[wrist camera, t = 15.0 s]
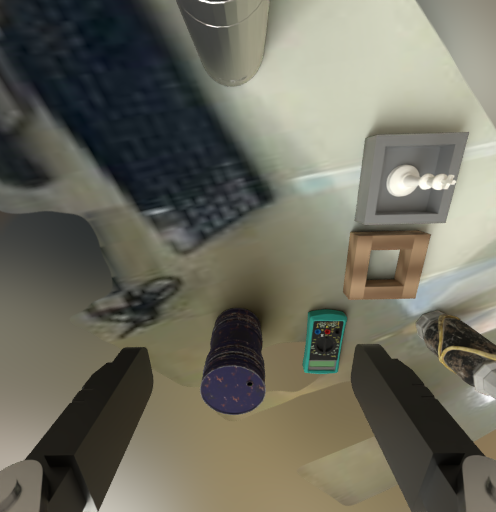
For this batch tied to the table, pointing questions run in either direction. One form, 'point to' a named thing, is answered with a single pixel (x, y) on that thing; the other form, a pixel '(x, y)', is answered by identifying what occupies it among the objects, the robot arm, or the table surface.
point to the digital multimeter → (324, 341)
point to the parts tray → (426, 162)
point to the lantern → (460, 350)
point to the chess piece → (415, 181)
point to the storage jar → (234, 364)
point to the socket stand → (406, 271)
